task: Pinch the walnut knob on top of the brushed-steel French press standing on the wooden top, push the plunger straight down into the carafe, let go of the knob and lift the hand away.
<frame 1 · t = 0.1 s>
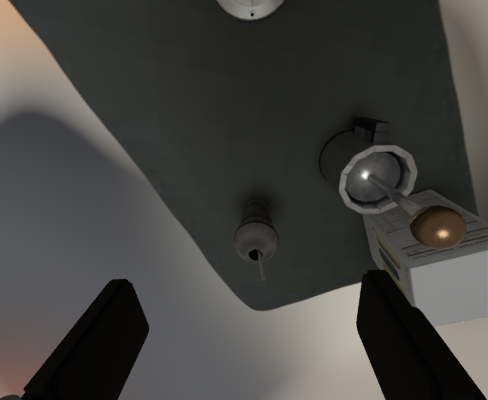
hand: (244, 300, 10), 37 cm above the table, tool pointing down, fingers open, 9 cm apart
carafe: (347, 159, 43), on the table
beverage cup: (257, 207, 49), on the table
supplement box: (397, 225, 48), on the table
plunger: (399, 199, 27), point 18 cm above the table, slide at 0.0 cm
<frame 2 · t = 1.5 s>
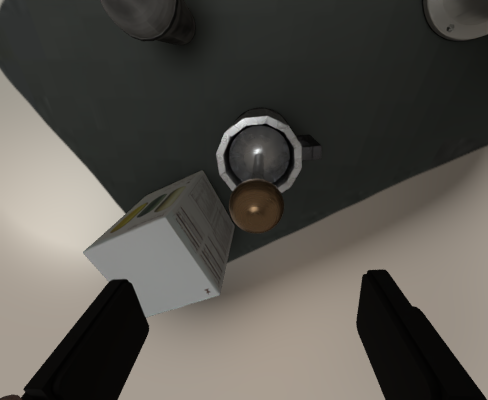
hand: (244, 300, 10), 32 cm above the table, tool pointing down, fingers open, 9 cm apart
carafe: (260, 141, 39), on the table
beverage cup: (180, 26, 33), on the table
supplement box: (191, 210, 46), on the table
plunger: (257, 177, 23), point 18 cm above the table, slide at 0.0 cm
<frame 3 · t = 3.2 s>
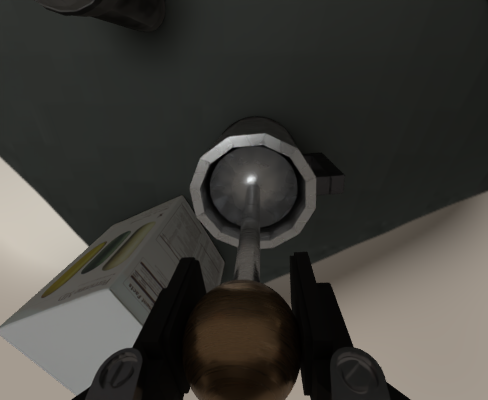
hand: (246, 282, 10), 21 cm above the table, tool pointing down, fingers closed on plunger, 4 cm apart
carafe: (255, 159, 30), on the table
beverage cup: (144, 6, 24), on the table
supplement box: (170, 243, 36), on the table
plunger: (249, 238, 14), point 18 cm above the table, slide at 0.0 cm, touching gripper
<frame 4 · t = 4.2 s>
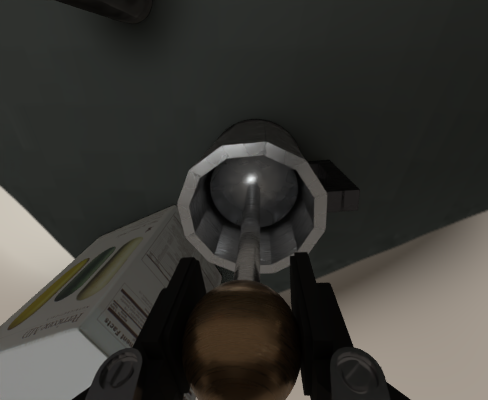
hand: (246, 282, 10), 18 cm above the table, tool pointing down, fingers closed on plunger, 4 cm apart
carafe: (255, 166, 27), on the table
supplement box: (162, 255, 34), on the table
plunger: (249, 238, 14), point 15 cm above the table, slide at 3.2 cm, touching gripper
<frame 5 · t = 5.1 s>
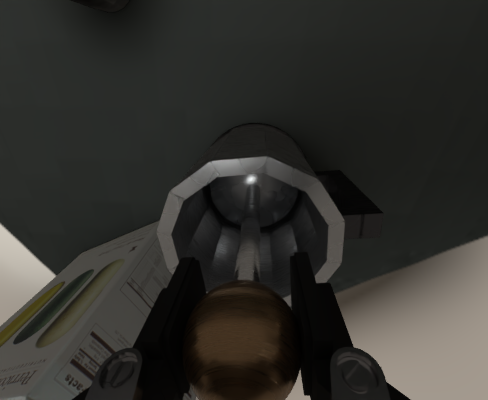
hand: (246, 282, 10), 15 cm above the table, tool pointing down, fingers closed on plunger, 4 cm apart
carafe: (254, 176, 24), on the table
supplement box: (152, 272, 30), on the table
plunger: (249, 238, 14), point 11 cm above the table, slide at 6.7 cm, touching gripper
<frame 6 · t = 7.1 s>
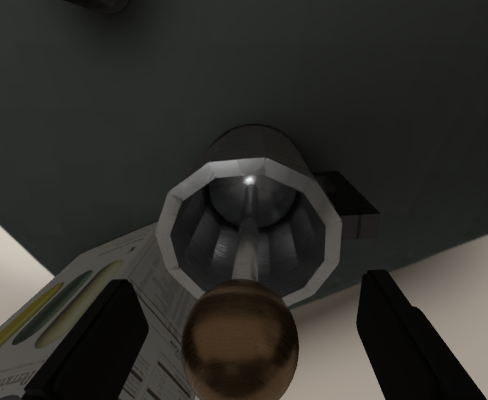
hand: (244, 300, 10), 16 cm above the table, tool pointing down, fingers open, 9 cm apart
carafe: (253, 177, 24), on the table
supplement box: (151, 273, 30), on the table
plunger: (248, 238, 14), point 11 cm above the table, slide at 6.7 cm
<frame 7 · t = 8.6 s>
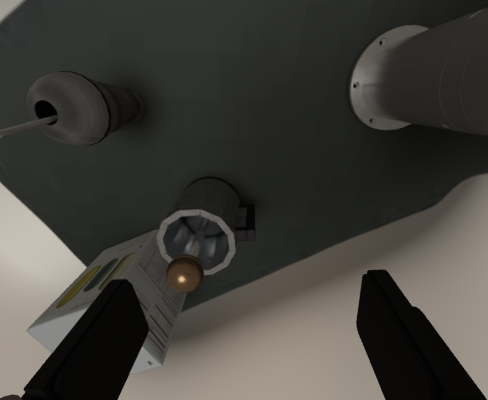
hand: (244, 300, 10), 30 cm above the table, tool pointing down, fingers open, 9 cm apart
carafe: (211, 205, 41), on the table
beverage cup: (130, 106, 35), on the table
supplement box: (149, 263, 47), on the table
plunger: (197, 240, 31), point 11 cm above the table, slide at 6.7 cm
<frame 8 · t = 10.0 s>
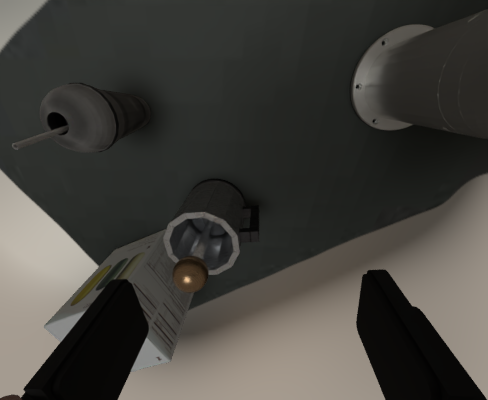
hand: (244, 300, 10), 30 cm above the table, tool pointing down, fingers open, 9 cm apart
carafe: (216, 206, 42), on the table
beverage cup: (137, 111, 36), on the table
supplement box: (158, 262, 49), on the table
plunger: (203, 241, 32), point 11 cm above the table, slide at 6.7 cm
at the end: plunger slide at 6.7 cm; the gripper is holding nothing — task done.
